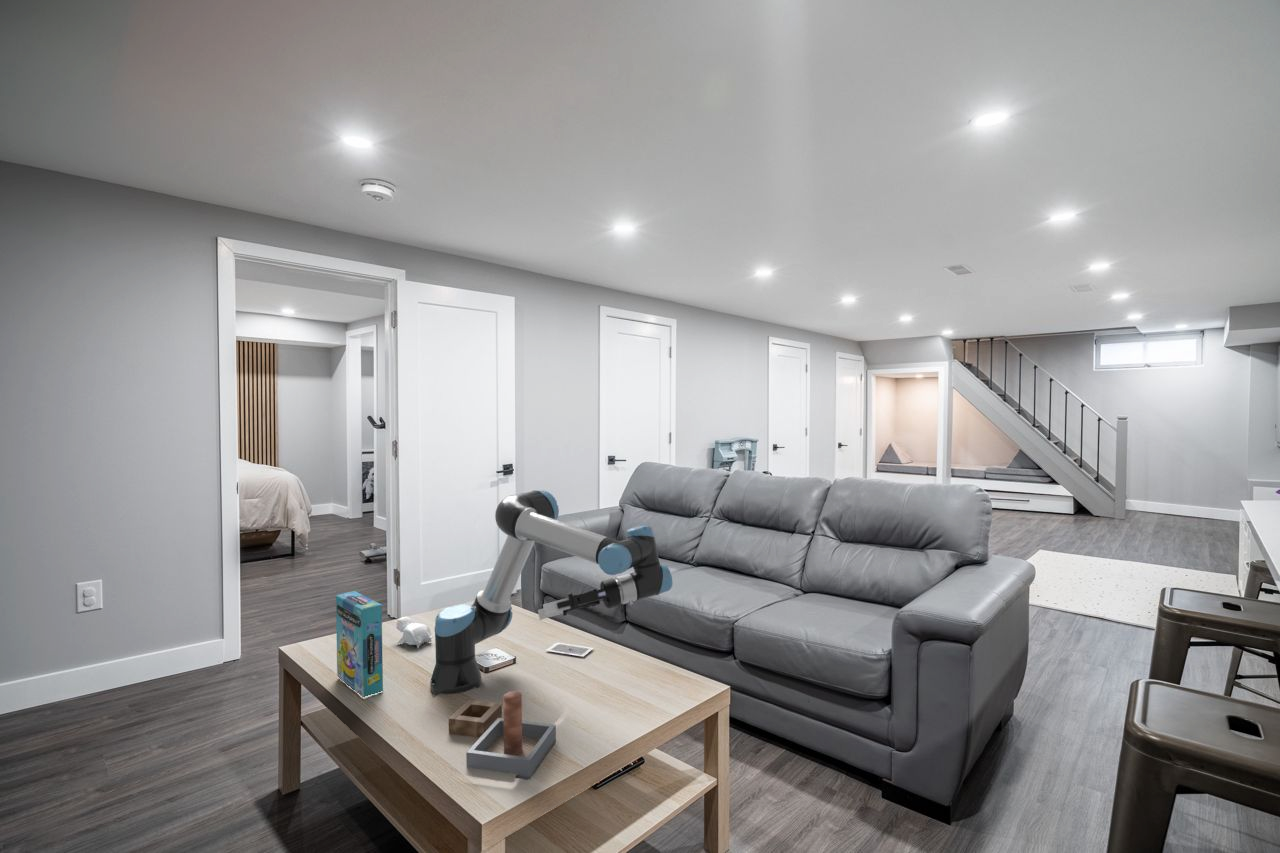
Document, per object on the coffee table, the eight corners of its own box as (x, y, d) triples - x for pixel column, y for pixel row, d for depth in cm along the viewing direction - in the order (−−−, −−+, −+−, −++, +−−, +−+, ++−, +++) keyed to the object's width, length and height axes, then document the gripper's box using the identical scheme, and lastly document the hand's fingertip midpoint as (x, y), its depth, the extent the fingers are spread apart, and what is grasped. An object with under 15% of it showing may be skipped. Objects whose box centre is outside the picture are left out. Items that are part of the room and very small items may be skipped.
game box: (336, 679, 187) (334, 595, 187) (356, 673, 192) (354, 590, 191) (362, 700, 173) (360, 609, 173) (384, 692, 178) (382, 603, 177)
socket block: (448, 737, 153) (448, 718, 153) (468, 717, 162) (468, 700, 162) (484, 741, 150) (483, 722, 150) (502, 721, 160) (501, 703, 160)
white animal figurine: (431, 649, 218) (406, 628, 225) (437, 629, 217) (411, 609, 224) (412, 657, 211) (387, 635, 218) (417, 637, 209) (392, 615, 216)
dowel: (500, 756, 142) (499, 699, 142) (509, 746, 147) (508, 690, 146) (517, 758, 141) (516, 700, 141) (525, 748, 146) (524, 692, 145)
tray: (466, 770, 138) (466, 752, 138) (498, 734, 154) (498, 717, 154) (529, 779, 134) (529, 760, 134) (556, 741, 150) (555, 724, 150)
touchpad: (556, 645, 214) (556, 639, 214) (593, 651, 208) (593, 645, 208) (545, 653, 207) (545, 647, 207) (583, 659, 201) (583, 653, 201)
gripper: (632, 599, 149) (550, 623, 142) (611, 609, 171) (539, 630, 164) (624, 570, 152) (543, 592, 144) (605, 584, 174) (533, 603, 167)
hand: (541, 612), depth 154 cm, fingers open, 13 cm apart
